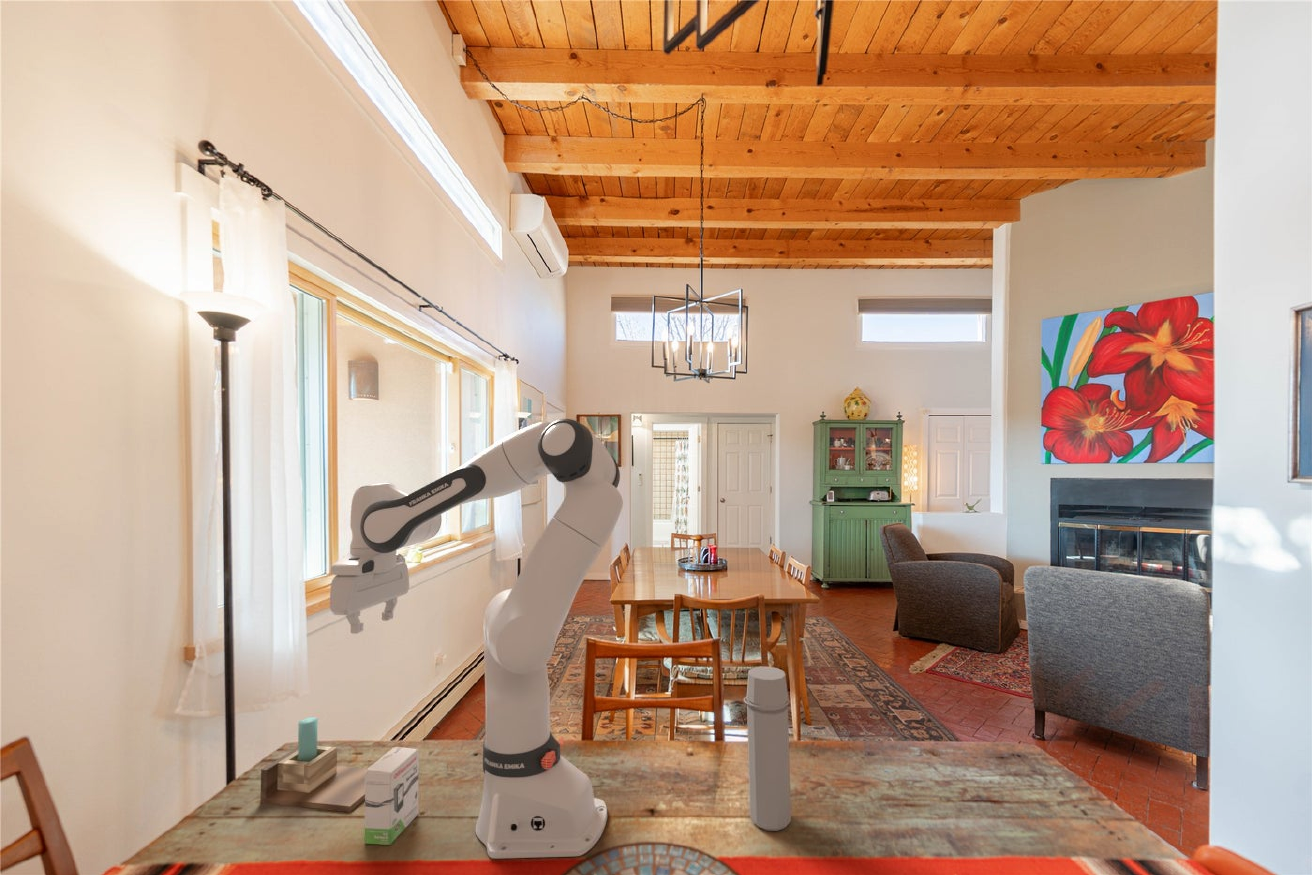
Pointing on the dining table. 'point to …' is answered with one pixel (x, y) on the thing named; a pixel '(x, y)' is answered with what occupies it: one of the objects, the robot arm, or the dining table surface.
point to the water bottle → (768, 748)
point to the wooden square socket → (307, 770)
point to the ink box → (391, 795)
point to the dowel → (307, 739)
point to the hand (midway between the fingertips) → (372, 625)
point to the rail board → (317, 789)
